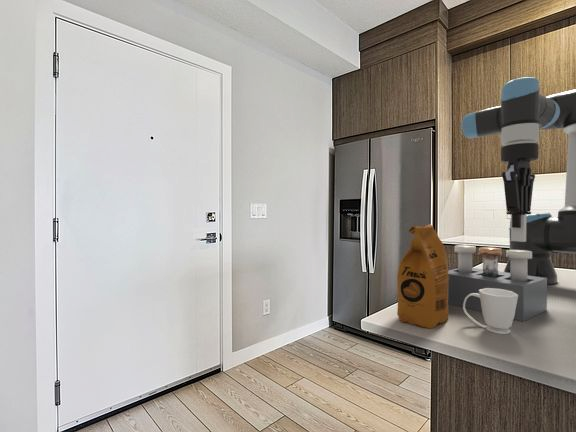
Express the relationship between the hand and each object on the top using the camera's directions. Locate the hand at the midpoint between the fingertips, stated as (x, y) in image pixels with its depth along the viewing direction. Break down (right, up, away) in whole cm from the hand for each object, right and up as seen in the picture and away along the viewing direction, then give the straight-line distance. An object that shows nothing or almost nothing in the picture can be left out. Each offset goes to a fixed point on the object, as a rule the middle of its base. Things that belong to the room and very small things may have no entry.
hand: (518, 241), depth 79 cm
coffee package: (-25, -18, -4) cm, 31 cm away
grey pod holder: (-3, -17, +6) cm, 19 cm away
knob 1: (-7, -11, +11) cm, 17 cm away
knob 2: (0, -11, 0) cm, 11 cm away
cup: (-13, -18, -10) cm, 25 cm away
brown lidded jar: (-3, -11, +6) cm, 13 cm away
